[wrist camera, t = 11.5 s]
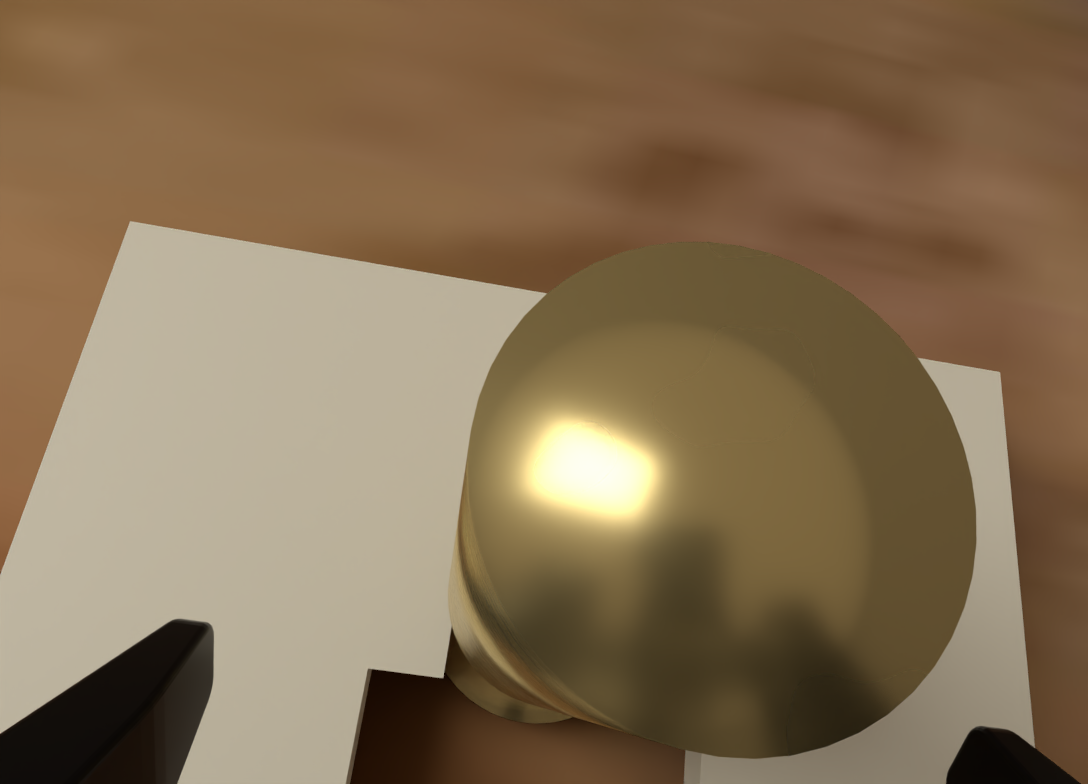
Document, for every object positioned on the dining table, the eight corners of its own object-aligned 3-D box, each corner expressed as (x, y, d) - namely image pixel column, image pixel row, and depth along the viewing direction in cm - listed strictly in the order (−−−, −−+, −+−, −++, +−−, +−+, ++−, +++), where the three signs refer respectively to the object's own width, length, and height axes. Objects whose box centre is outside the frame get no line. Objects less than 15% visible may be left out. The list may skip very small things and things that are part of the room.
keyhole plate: (966, 1165, 15) (1084, 1274, 13) (-89, 1073, 14) (-220, 1174, 11) (925, 412, 21) (999, 372, 18) (173, 286, 20) (130, 221, 17)
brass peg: (671, 590, 19) (1112, 430, 7) (552, 768, 17) (845, 997, 5) (514, 466, 19) (650, 107, 7) (383, 627, 17) (267, 520, 5)
